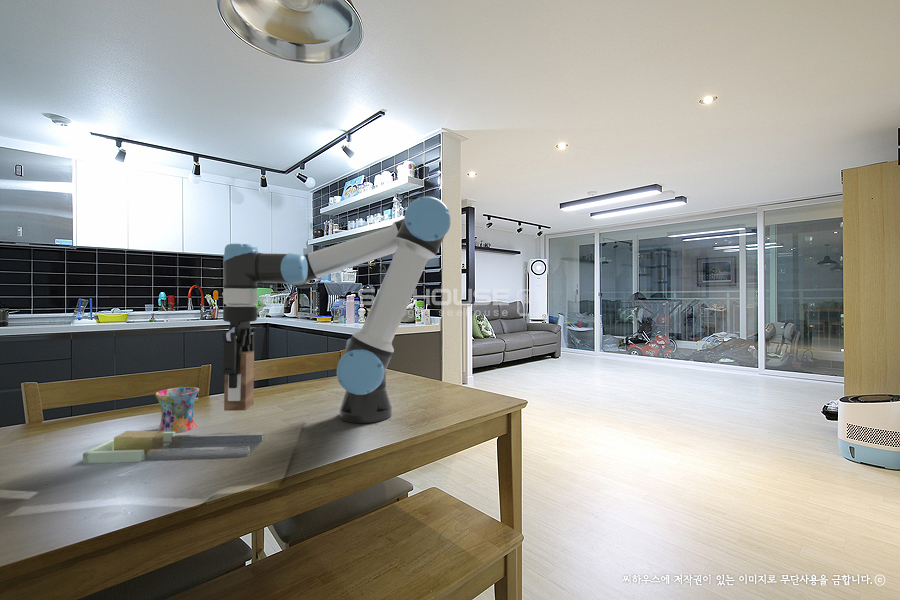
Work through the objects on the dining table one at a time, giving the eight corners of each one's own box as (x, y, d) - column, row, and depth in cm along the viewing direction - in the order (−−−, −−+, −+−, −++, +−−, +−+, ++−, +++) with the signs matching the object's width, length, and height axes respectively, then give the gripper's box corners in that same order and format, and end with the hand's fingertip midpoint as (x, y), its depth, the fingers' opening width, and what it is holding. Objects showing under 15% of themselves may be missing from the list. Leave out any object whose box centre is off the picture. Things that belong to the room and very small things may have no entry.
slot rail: (264, 442, 94) (264, 431, 94) (246, 461, 83) (246, 449, 83) (176, 444, 92) (176, 434, 92) (145, 464, 81) (145, 452, 81)
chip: (146, 448, 88) (146, 430, 88) (133, 455, 85) (133, 436, 84) (127, 448, 88) (127, 431, 88) (113, 455, 84) (113, 437, 84)
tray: (175, 444, 93) (175, 431, 93) (140, 465, 81) (141, 451, 81) (125, 445, 91) (125, 432, 91) (82, 468, 79) (82, 453, 79)
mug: (191, 436, 98) (191, 394, 97) (148, 440, 95) (148, 396, 95) (207, 421, 109) (207, 383, 109) (168, 424, 107) (168, 385, 106)
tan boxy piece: (163, 448, 88) (163, 430, 88) (151, 455, 84) (152, 437, 84) (144, 449, 88) (144, 431, 88) (131, 456, 84) (131, 437, 84)
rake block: (253, 404, 102) (254, 351, 101) (245, 410, 97) (246, 353, 96) (233, 405, 101) (233, 351, 101) (224, 410, 96) (224, 353, 96)
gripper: (240, 304, 107) (239, 389, 107) (206, 306, 89) (205, 407, 89) (268, 305, 108) (267, 389, 108) (240, 306, 90) (239, 407, 90)
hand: (239, 397), depth 99 cm, fingers closed on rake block, 5 cm apart
